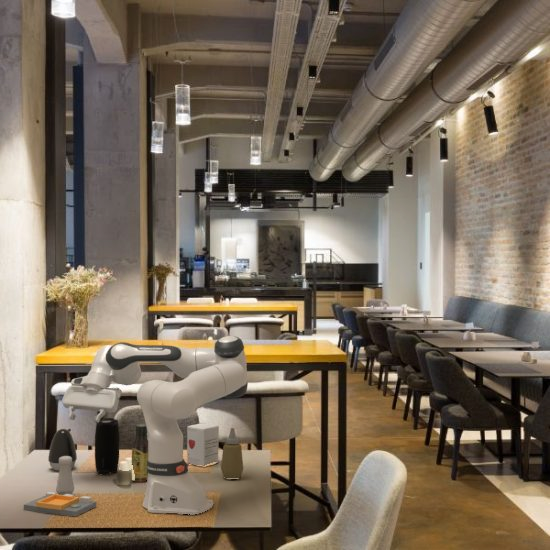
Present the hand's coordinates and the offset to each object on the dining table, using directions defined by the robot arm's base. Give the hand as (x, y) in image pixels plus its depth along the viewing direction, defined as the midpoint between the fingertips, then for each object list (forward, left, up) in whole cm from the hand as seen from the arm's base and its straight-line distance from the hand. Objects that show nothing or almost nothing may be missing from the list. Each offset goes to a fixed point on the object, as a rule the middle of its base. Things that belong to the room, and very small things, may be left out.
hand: (83, 420), depth 264 cm
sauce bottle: (-16, -12, -23) cm, 30 cm away
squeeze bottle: (-45, -27, -23) cm, 57 cm away
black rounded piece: (+19, -15, -23) cm, 33 cm away
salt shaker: (-3, +14, -23) cm, 27 cm away
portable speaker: (+1, -17, -23) cm, 28 cm away
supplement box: (-26, -42, -23) cm, 54 cm away
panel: (-9, +25, -22) cm, 35 cm away
